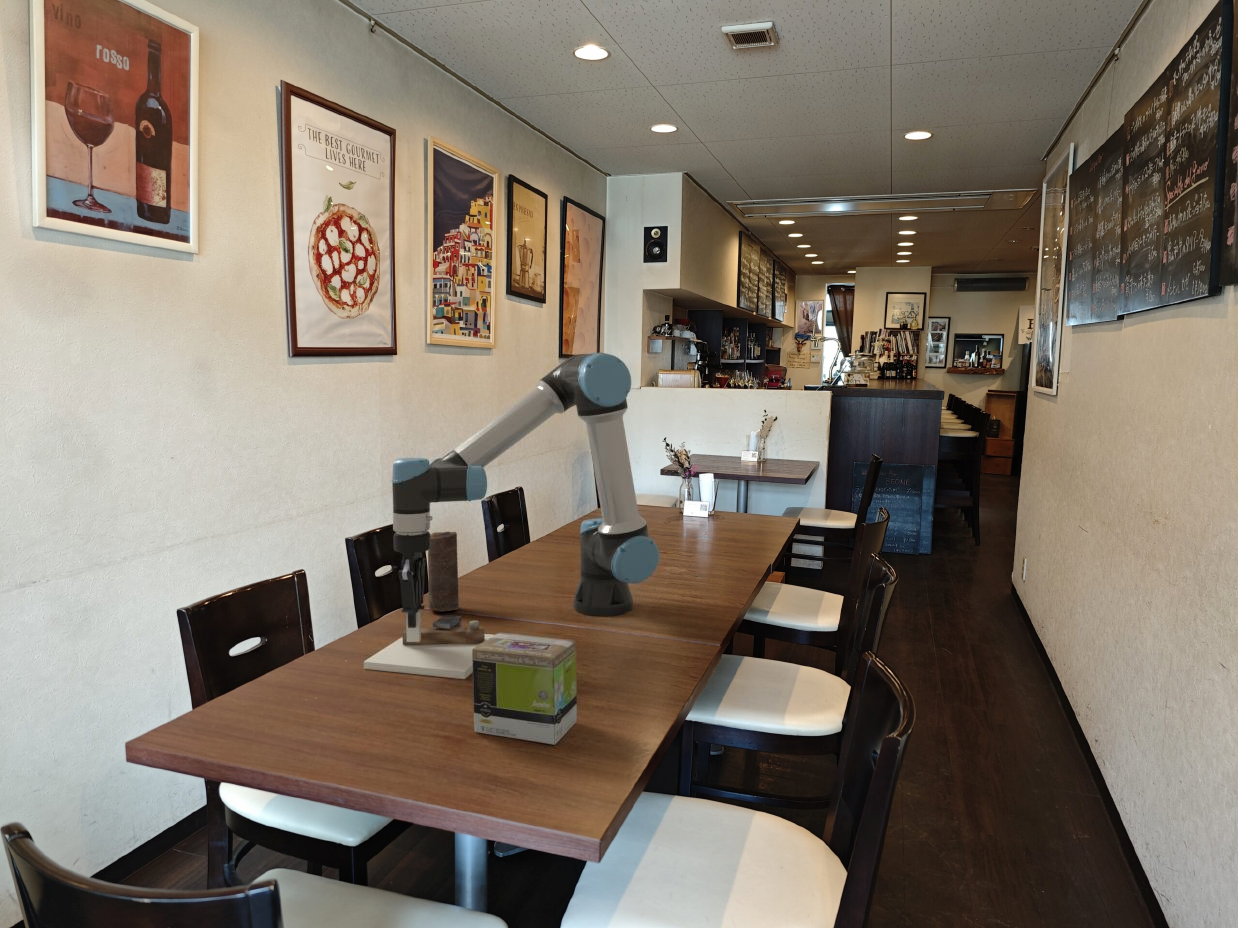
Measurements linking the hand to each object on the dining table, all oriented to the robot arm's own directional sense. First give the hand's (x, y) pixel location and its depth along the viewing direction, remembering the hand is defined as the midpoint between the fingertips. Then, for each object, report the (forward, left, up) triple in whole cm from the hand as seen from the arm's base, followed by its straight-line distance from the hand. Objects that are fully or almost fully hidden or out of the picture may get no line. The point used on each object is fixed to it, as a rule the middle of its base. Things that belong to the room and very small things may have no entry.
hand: (413, 640), depth 169 cm
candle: (+7, -29, -3) cm, 30 cm away
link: (-5, -4, -1) cm, 7 cm away
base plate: (-6, 0, -3) cm, 6 cm away
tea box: (-36, +28, -3) cm, 45 cm away
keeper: (-5, -7, -1) cm, 8 cm away
